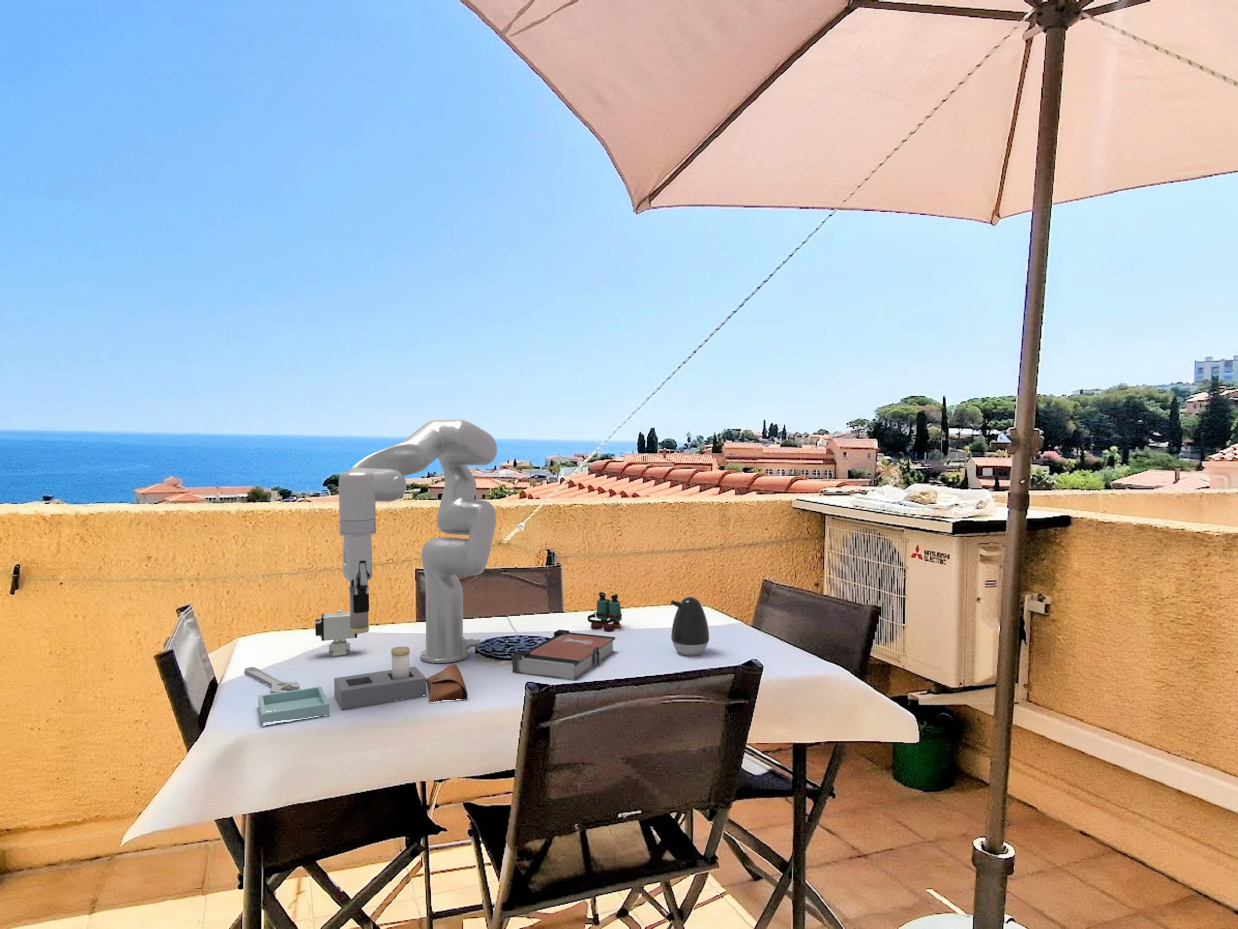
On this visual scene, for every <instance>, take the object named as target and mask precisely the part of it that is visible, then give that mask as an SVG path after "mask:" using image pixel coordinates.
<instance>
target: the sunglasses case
mask: <svg viewBox="0 0 1238 929" xmlns="http://www.w3.org/2000/svg"><path fill="white" fill-rule="evenodd" d="M426 682H427V683H426V685H427V684H428V685H427V687H428V703H429V702H434V701H435V702H436V701H442V700H456V699H466V700H467V699H468V691H467V688H466V685H465V684H466V683H465V681H464V679H463V676H462V672H461V671H460V669H459V667H458V665H457V664H456V663H454V662H451V664H449V665H447V666H445V668H444V669H442V670H441V671H438V672H436V673H435V674H433V675H431V676H428V677H426Z"/></svg>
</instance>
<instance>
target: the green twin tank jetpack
mask: <svg viewBox="0 0 1238 929" xmlns="http://www.w3.org/2000/svg"><path fill="white" fill-rule="evenodd" d="M618 595H619V594H617V593H616V594H613V595H611V596H610V599H607V598H606V596H607V595H606V593H605V592H603V591H599V592H598V597H599V599H597V600H596V611H593V613H592V614H590V615H588V616H587V621H588V622H589V623H590V629H592V630H594V631H596V630H597V631H598V630H601V629H602V628H603V632H611V631H613V630H615V629H618V628H621V627H622V624H621V623H620V622H621V621H622V620H623V619H622V617H623V615H622V608H621V602H620V601H619V600H618V598H619V596H618Z"/></svg>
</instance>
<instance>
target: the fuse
mask: <svg viewBox="0 0 1238 929" xmlns="http://www.w3.org/2000/svg"><path fill="white" fill-rule="evenodd" d="M410 653H411V648H410V647H408V646H396V647H393V648H391V650H390V654H391V670H392V680H395V679H402V678H408V677H409V667H410Z"/></svg>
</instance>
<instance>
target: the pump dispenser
mask: <svg viewBox="0 0 1238 929" xmlns="http://www.w3.org/2000/svg"><path fill="white" fill-rule="evenodd" d="M670 604H671V605H673V606H675V607H677V610H675V611H676V612H675V615H674V618H673V622H672V626H671V634H670V636H671V638H670V639H671V641H672V645H673V648H674V649H675V650H676V652H678V653H679V654H681V655H684V656H690V657H692V656H693V657H694V656H699V655H701V654H702V653H703V652H705V650H706V649H707V647H708V643H709V642H710V631H709V625H708V620H707V617H706V616H707V615H706V613H705V610H704V609H703V608H704V607H703V606H702V603H701V602H700V601H699V599H697V598H695V597H693V596H687V597H684V598H683V599H682V601H681V602H679V601H676V600H674V599H671V601H670Z"/></svg>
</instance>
